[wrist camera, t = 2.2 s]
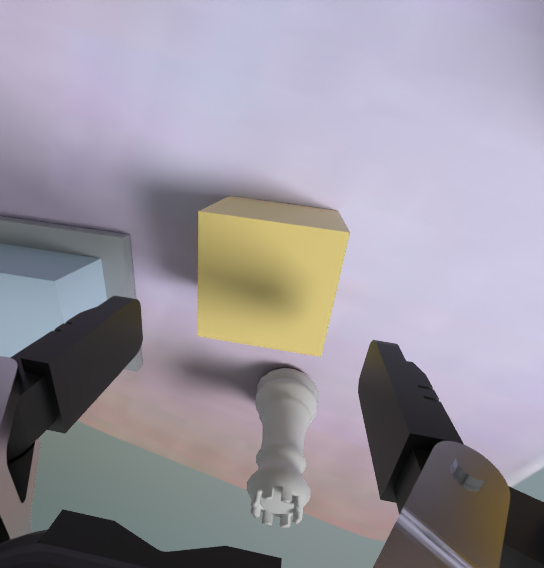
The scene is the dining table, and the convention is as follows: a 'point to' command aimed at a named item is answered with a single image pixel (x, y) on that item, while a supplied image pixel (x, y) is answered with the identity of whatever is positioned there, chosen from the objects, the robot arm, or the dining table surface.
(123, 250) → the baseplate
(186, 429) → the dining table surface
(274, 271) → the mustard block
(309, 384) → the rook chess piece
